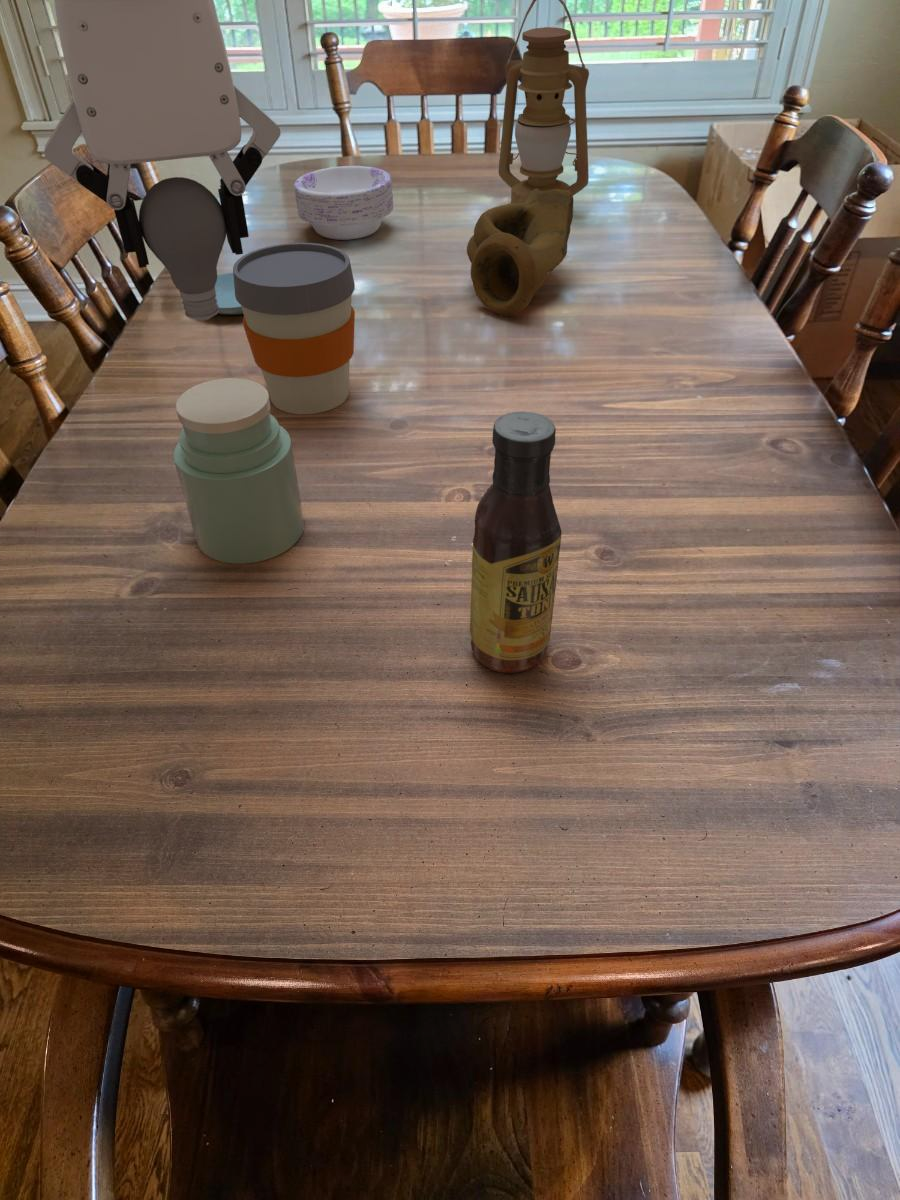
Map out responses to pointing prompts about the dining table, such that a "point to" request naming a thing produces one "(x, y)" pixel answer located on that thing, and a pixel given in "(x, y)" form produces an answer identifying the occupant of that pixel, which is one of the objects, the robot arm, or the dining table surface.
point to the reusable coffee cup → (299, 322)
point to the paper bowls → (344, 200)
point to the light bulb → (186, 239)
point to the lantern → (544, 113)
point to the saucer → (227, 295)
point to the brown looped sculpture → (519, 248)
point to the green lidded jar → (237, 472)
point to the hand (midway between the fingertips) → (189, 252)
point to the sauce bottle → (515, 548)
